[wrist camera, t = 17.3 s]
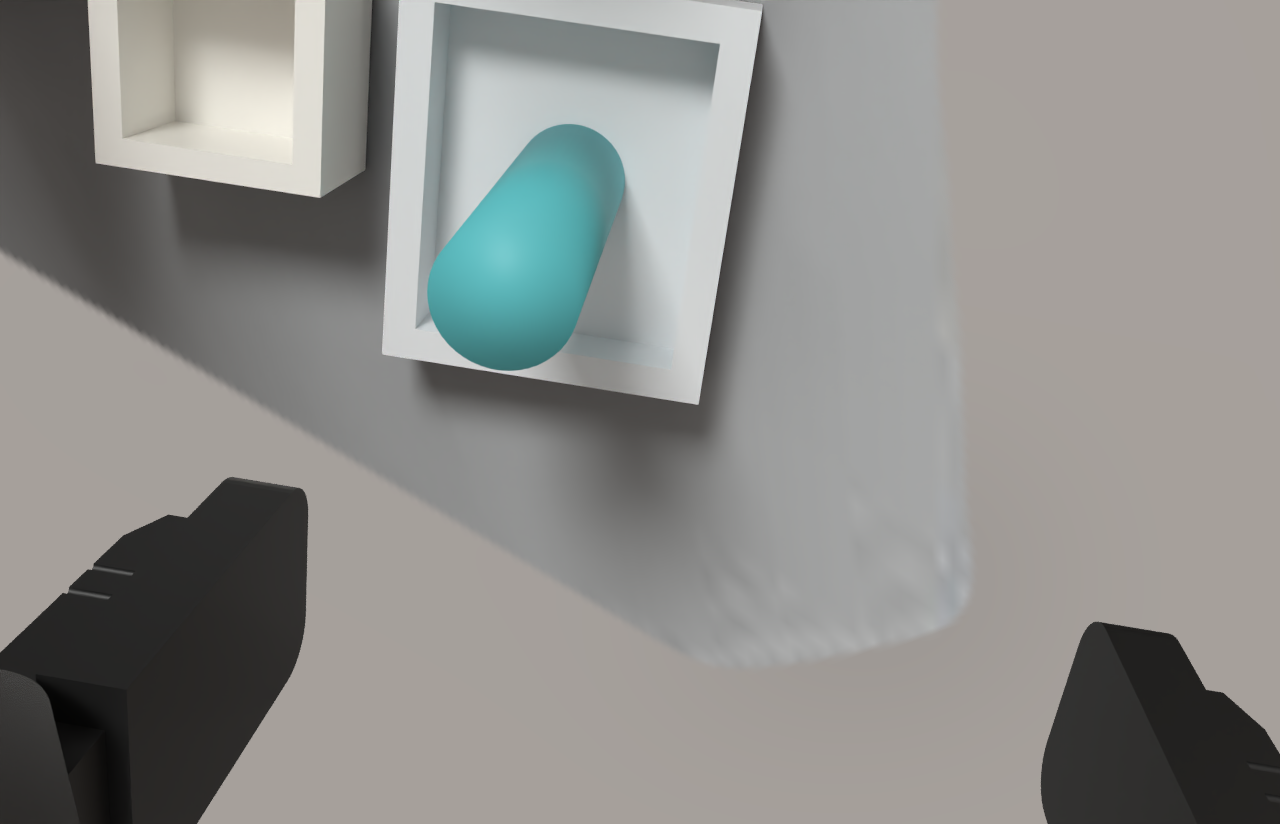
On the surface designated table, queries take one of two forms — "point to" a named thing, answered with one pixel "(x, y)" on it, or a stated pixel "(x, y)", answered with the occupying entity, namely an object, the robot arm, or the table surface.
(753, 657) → the table surface
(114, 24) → the square box
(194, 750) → the robot arm
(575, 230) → the dowel
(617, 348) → the tray
